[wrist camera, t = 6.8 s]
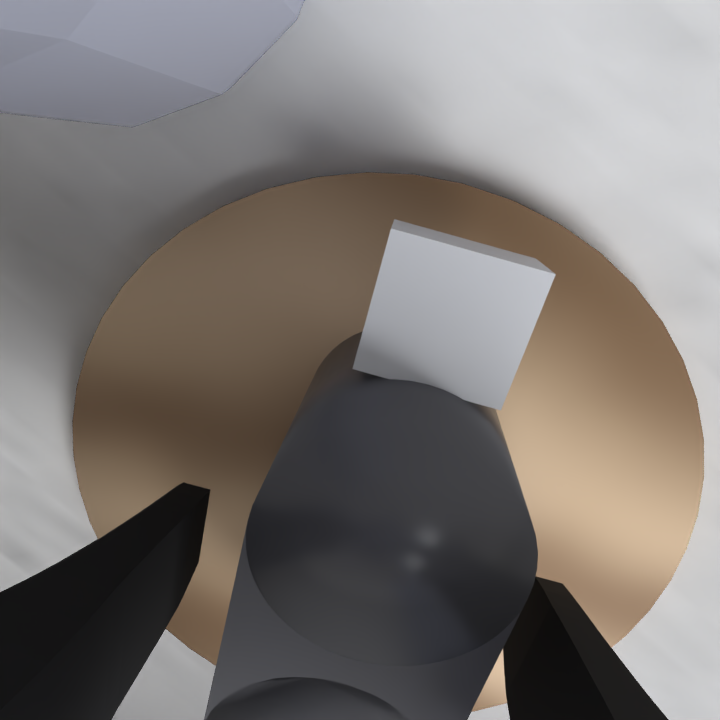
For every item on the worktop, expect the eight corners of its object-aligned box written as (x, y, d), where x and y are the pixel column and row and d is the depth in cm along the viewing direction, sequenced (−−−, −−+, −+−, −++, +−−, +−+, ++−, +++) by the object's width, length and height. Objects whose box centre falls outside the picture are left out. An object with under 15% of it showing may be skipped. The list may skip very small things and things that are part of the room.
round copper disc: (548, 745, 17) (554, 771, 16) (78, 618, 17) (63, 639, 16) (820, 277, 11) (849, 285, 11) (107, 90, 11) (86, 85, 11)
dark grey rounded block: (402, 646, 15) (396, 859, 11) (256, 605, 15) (186, 801, 11) (559, 255, 11) (665, 324, 6) (356, 198, 11) (312, 225, 6)
